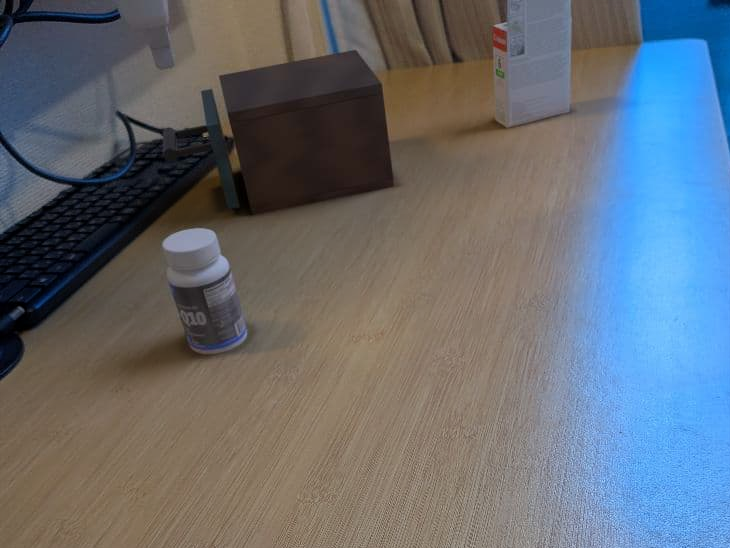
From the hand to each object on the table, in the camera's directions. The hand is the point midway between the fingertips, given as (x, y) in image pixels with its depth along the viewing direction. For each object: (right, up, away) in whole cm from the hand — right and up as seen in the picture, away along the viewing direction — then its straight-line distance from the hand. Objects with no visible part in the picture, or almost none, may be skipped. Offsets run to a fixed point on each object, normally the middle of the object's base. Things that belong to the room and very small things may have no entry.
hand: (166, 65), depth 78 cm
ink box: (+37, +3, +16) cm, 41 cm away
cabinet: (+13, -6, +10) cm, 18 cm away
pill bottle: (+8, -30, -13) cm, 33 cm away
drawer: (+8, -7, +9) cm, 14 cm away
